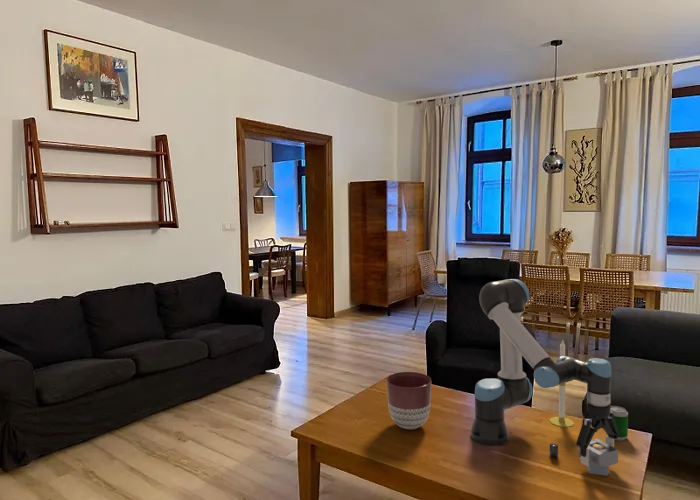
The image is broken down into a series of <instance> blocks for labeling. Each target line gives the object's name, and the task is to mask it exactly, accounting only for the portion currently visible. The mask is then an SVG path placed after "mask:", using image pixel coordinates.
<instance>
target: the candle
mask: <svg viewBox="0 0 700 500" xmlns="http://www.w3.org/2000/svg"><path fill="white" fill-rule="evenodd" d="M560 356H566V344H565V342H564V339H562V341H561V343H560V344H559V357H560ZM549 422H550V424H551V425H554V426H557V427H559V426H560V428H571V427H573V426H574V425H575V422H574V421H573V420H572V419H571V418H568V417H566V383H562V384H559V385H558V416H553V417H551V418H549Z"/></svg>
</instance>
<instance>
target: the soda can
mask: <svg viewBox="0 0 700 500" xmlns="http://www.w3.org/2000/svg"><path fill="white" fill-rule="evenodd" d="M610 412H612V413H613V414H614V420H615V423H616V426H617V429H618V432H619V435H616V436H618V438H617V439H615V438H614V441H625V440H626V439H627V438H628V435H629V434H628V430H629V412H628V411H627V410H626V409H625V407H621V406H617V405H610Z"/></svg>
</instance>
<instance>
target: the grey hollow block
mask: <svg viewBox="0 0 700 500" xmlns="http://www.w3.org/2000/svg"><path fill="white" fill-rule="evenodd" d="M593 444H599V445H601V446H602V447H603V450H599V451H598V450H597V449H595V448H593ZM577 447H578V448H577V449H578V453H577V455H578V456H577V457H578V458H580V459H581V454H580V452H581V451H580V449H581V448H580V447H579V446H577ZM588 448H589V463H590V464H592V465H594V466H595V467H597V468H603V467H606V466H608V467H609V466H613V465H616V464H618V463H619V449H618V448H616V447H615V446H614V447H612V446H610V445H608V444H607V443H606V441H603V440H600V439H599V438H592V439H591V441H590V443H589V445H588Z"/></svg>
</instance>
